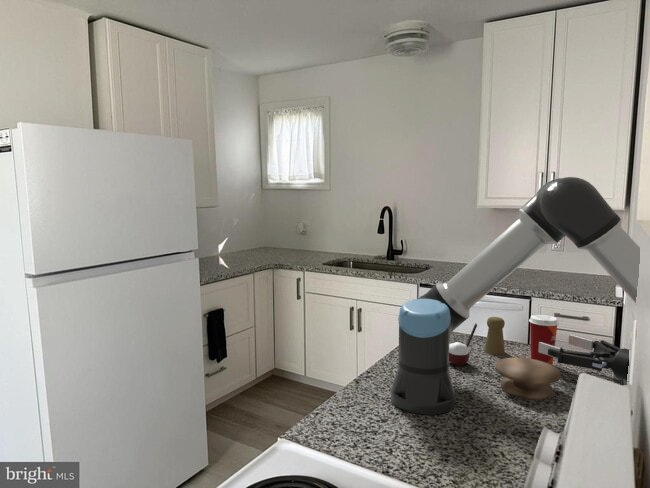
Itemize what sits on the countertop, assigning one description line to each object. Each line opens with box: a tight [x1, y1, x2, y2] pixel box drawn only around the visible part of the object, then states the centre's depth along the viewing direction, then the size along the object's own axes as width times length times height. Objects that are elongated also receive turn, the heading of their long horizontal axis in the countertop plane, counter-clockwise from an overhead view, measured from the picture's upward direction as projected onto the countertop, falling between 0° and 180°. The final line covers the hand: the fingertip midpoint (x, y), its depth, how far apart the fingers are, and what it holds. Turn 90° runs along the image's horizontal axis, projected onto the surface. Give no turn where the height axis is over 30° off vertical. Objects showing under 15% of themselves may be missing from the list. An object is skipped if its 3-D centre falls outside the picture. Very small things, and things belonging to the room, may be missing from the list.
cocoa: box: [449, 323, 478, 367], centre depth 133 cm, size 10×6×12 cm, turn 57°
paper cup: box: [528, 314, 560, 366], centre depth 132 cm, size 8×8×14 cm
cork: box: [484, 316, 506, 356], centre depth 142 cm, size 6×6×11 cm
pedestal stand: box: [494, 357, 562, 401], centre depth 116 cm, size 15×15×6 cm
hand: (554, 343), depth 129 cm, fingers open, 13 cm apart
